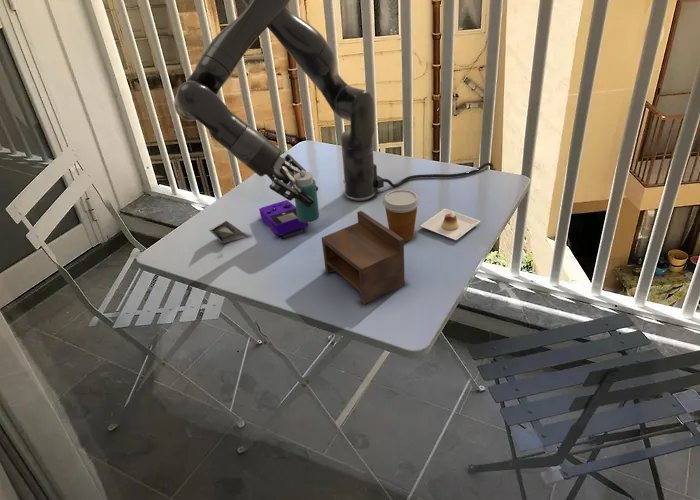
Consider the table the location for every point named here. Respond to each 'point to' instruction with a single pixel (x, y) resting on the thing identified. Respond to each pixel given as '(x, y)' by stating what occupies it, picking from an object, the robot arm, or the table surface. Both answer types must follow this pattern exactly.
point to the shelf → (366, 257)
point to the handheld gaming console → (282, 219)
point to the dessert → (450, 224)
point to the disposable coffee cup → (401, 212)
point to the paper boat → (227, 232)
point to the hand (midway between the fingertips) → (313, 197)
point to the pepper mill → (309, 187)
